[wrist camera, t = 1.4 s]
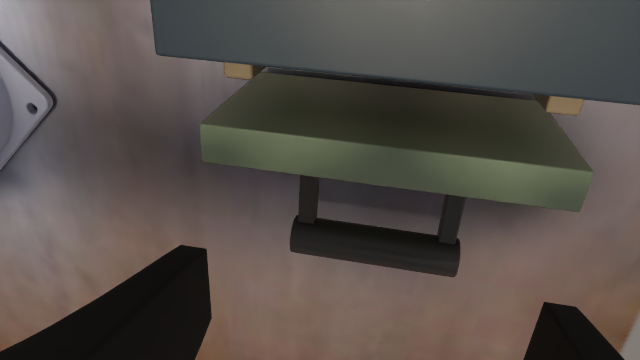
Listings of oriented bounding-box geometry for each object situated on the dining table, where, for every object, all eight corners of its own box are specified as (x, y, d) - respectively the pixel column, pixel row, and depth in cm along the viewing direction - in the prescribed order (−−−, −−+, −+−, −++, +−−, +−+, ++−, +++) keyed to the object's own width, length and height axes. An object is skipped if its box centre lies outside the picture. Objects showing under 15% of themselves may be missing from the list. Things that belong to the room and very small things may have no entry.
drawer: (502, 237, 20) (532, 343, 14) (260, 203, 21) (209, 288, 16) (668, -345, 12) (866, -566, 6) (257, -338, 13) (154, -517, 8)
